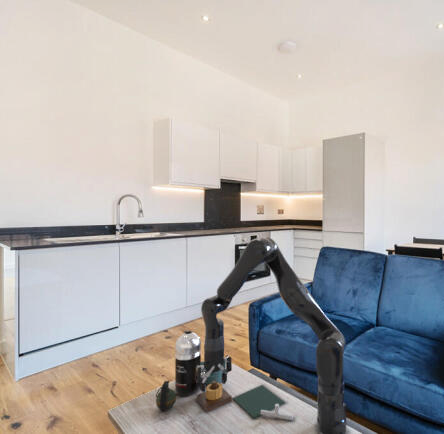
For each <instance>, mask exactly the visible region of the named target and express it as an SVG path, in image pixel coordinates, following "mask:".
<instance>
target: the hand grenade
mask: <svg viewBox="0 0 444 434" xmlns="http://www.w3.org/2000/svg"><path fill="white" fill-rule="evenodd" d="M169 384H170V380H165V381H164V382H163V383H162V386H161V387H160V388H158V390H157V392H156V394H155V398H156V399H155V403H156V407H157V408H158V409H159V411H160V412H161V413H165V412H166V411H168V410H170V409H171V408H172V407H174V406H175V403H176V400H177V393H176V391H175V389H172V388H170V386H169Z"/></svg>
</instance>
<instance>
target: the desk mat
mask: <svg viewBox="0 0 444 434" xmlns="http://www.w3.org/2000/svg"><path fill="white" fill-rule="evenodd" d="M232 401H234V402H235V403H236V404H237V405H238V406H240V408H242V409H243V410H244V411H245V412H246V413H247V414H248V415H249V416H250V417H252V418H253V420H255V419H257V418H259V417H260V416H262V415H261V414H260V412H261V410H266V411H271V412H272V410H275V404H279V407H281V406H282V405H285V403H286V402H285V401H284V400H283V399H281V397H280V396H278V395H276V394H275V393H274V392H272V391H271V390H270V389H268V388H267V387H266V386H264V385H263V384H262V385H258V386H257V387H255V388H253V389H250V390H248V391H246V392H243V393H240V394H239V395H237V396H234V397H232Z"/></svg>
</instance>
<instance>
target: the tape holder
mask: <svg viewBox="0 0 444 434" xmlns="http://www.w3.org/2000/svg"><path fill="white" fill-rule="evenodd" d="M215 389H217V381H212V390H215ZM196 401H197V402H198V403H199V404H200V405H201V407H202V408H203V409H204V410H205V412H207V413H209V412H210V411H213V410H215V409H217V408H219V407H222V406H224V405H226V404H228V403H231V402H232V401H233V396H232V394H230V393H229V392H228V391H227V390H226V389H225V388H224V387H222V396H221V397H220V398H218V399H216V400H208V399H207V398H206V390H205V392H201V393H198V394H196Z"/></svg>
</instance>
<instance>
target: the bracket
mask: <svg viewBox="0 0 444 434" xmlns="http://www.w3.org/2000/svg"><path fill="white" fill-rule="evenodd" d="M203 364H204V360H203V361H201V365H203ZM222 366H223V367H224V369H226V362H224V364H223V365H222ZM203 371H204V368H203V370H202V372H201V374H202V373H203ZM206 373H207V372H206ZM222 373H223V372H222V371H221V370H219V372H215V373H213V374H210V376H209V377H208V378H207V379H206V381H205V386H208V385H209V384H212V381H217V383H222Z"/></svg>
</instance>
